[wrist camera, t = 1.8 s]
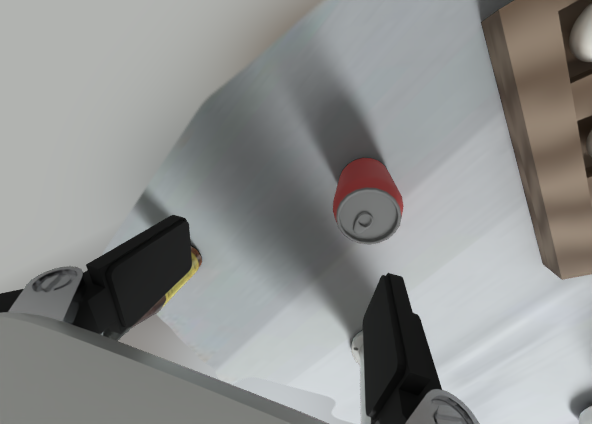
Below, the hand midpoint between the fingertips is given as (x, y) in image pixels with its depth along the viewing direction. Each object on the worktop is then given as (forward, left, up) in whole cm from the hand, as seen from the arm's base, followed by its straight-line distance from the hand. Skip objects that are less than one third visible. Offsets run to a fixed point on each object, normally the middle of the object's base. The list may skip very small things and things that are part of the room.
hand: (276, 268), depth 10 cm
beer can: (-4, -3, -23) cm, 24 cm away
